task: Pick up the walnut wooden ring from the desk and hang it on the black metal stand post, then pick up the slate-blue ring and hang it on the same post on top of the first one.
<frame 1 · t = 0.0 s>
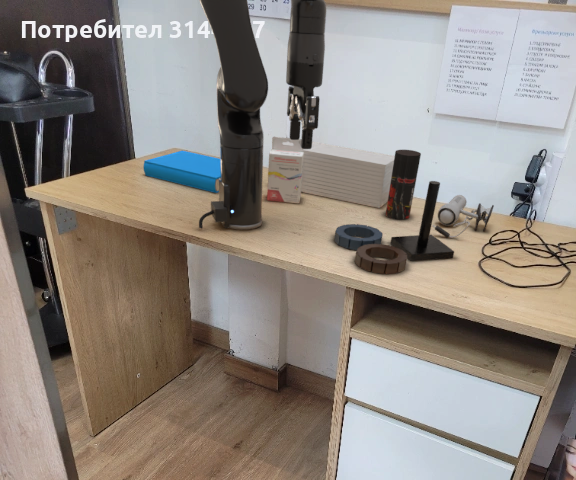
hand: (300, 143, 122), 17 cm above the table, tool pointing down, fingers open, 8 cm apart
slate ring: (357, 241, 123), on the table
stand: (420, 250, 120), on the table
ink cartridge box: (284, 200, 144), on the table
clip-on lamp: (458, 229, 133), on the table
walnut ring: (380, 263, 113), on the table
deodorant: (397, 216, 139), on the table
light grey ridged block: (331, 192, 152), on the table
book: (197, 178, 156), on the table
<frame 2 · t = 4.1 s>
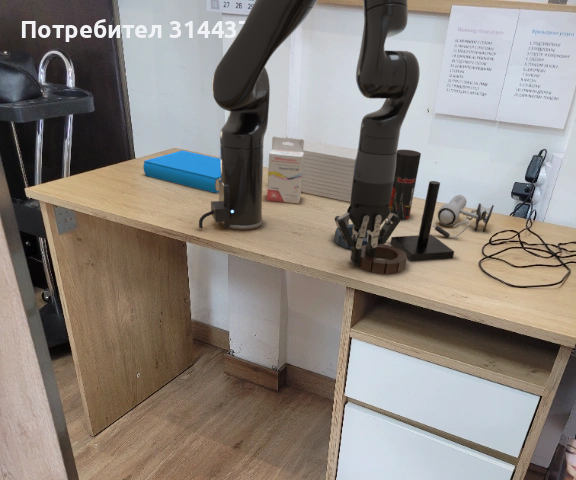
hand: (361, 263, 112), 0 cm above the table, tool pointing down, fingers closed on walnut ring, 2 cm apart
walnut ring: (380, 263, 113), on the table, touching gripper
everything else where it was.
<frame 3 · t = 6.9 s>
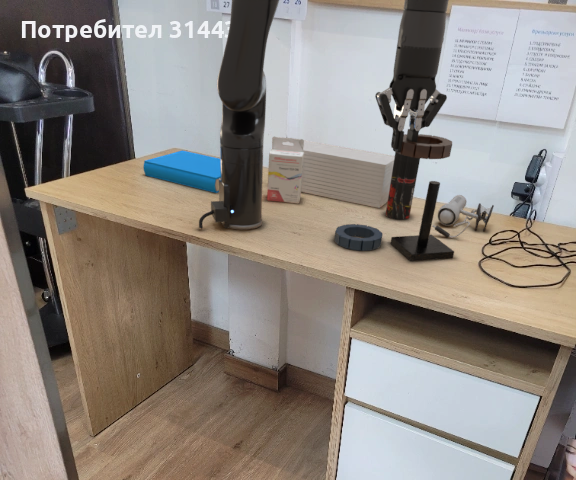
hand: (402, 151, 103), 21 cm above the table, tool pointing down, fingers closed on walnut ring
walnut ring: (422, 152, 105), point 21 cm above the table, touching gripper
everything else where it was.
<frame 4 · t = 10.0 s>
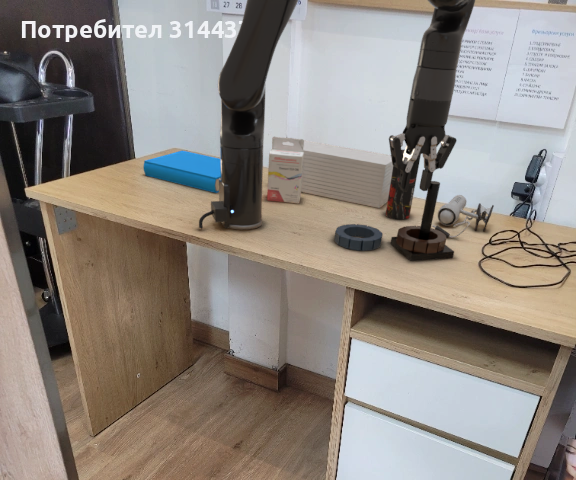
hand: (413, 189, 111), 13 cm above the table, tool pointing down, fingers open, 4 cm apart
walnut ring: (419, 243, 119), point 1 cm above the table, touching stand
everything else where it was.
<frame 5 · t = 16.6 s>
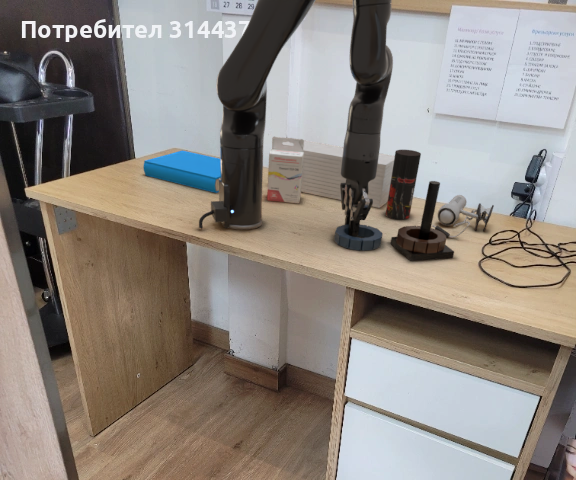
hand: (350, 233, 126), 0 cm above the table, tool pointing down, fingers closed on slate ring, 2 cm apart
slate ring: (357, 241, 123), on the table, touching gripper
everything else where it was.
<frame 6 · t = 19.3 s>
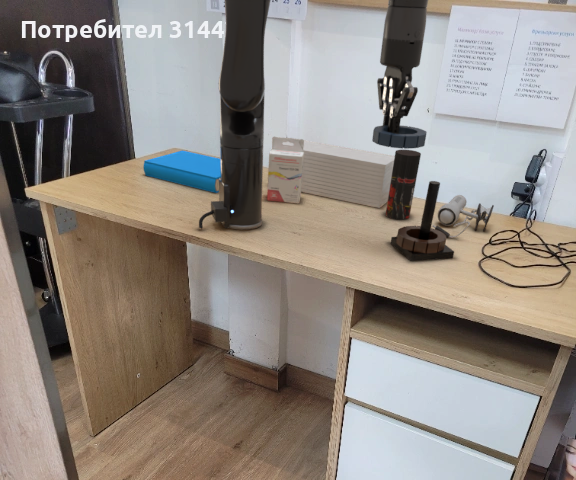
hand: (389, 136, 113), 21 cm above the table, tool pointing down, fingers closed on slate ring
slate ring: (398, 142, 110), point 21 cm above the table, touching gripper
everything else where it was.
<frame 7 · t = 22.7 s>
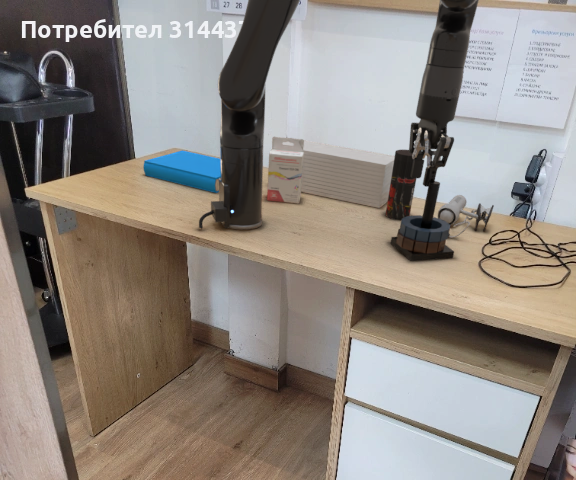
hand: (421, 181, 117), 13 cm above the table, tool pointing down, fingers open, 5 cm apart
slate ring: (423, 233, 119), point 4 cm above the table, touching walnut ring
walnut ring: (419, 243, 119), point 1 cm above the table, touching slate ring, stand
everything else where it was.
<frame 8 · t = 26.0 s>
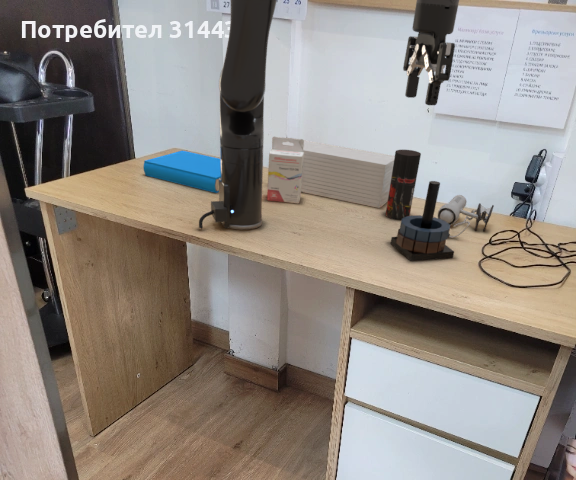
hand: (420, 101, 110), 28 cm above the table, tool pointing down, fingers open, 8 cm apart
nothing on the table moved.
at the end: walnut ring 0.5 cm from the stand (horizontally); slate ring 0.4 cm from the stand (horizontally); slate ring point 3.7 cm above the table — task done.
